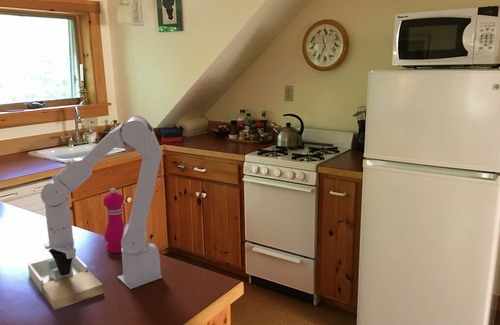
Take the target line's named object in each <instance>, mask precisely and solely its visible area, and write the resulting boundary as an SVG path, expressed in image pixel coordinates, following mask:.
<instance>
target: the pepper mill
mask: <svg viewBox="0 0 500 325" xmlns="http://www.w3.org/2000/svg"><path fill="white" fill-rule="evenodd" d="M124 202H125V198H124V196H123V195H122V194H121V193H119V192H117V188H115V187H112V188H110V189H109V192H108V193H107V194H105V196H104V198H103V205H104V207H106V208H105V214H107V224H106V226H105V227H106V228H105V230H104V240H105V242H106V243H107V244H106V250H107V251H108V252H110V253H114V254H115V253H122V250H121V248H122V247H121V240H122V237H123V233H124V226H125V225H126V224H125V223H124V221H123V216H122V215H123V212H124V209H123V208H124V207H123V205H124Z"/></svg>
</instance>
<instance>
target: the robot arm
mask: <svg viewBox="0 0 500 325" xmlns="http://www.w3.org/2000/svg"><path fill="white" fill-rule="evenodd" d="M126 145H128V146H130V147H131V148H133V149H134V150H136V151H137V153H138V155H139V156H140V157H141V158H142V160H141V165H140V170H139V175H138V179H137V184H136V188H135V193H134V197H133V203H132V207H131V211H130V216H129V220H128V221H127V222H126V223H125V224H124V225H125V226H124V233H123V237H122V240H121V247H122V248H121V250H122V252H121V260H122V261H121V262H122V274H121V275H118V276H117V278H118V279H119V281H121V282H122V283H123V284H124V285H125V286H126V287H127V288H129V289H130V290H131V289H132V290H133V289H135V288H138V287H141V286H143V285H146V284H149V283H150V282H154V281H156V280H159V279H162V278H163V276H162V274H161V273H162V272H161V258H160V257H161V255H160V251H159V248H158V247H157V245H156V244H154V243H148V241H147V234H148V227H147V224H148V219H149V214H150V209H151V204H152V200H153V195H154V191H155V188H156V187H155V186H156V183H157V182H156V181H157V177H158V173H159V169H160V164H161V160H162V154H163V153H162V148H161V146H160V143H159V141H158V138H157V136H156V134H155V131H154V128H153V126H152V125H151V124H150V123H149V122H148V120H147V119H146V118H144V117H143V116H140V115H132V116H130V117H128V118H127V119H126V121H125V122H122V123H120V124H119V125H117V126H116V127H115V128H113V129H112V130H111V131H110V132H108V133H107V134H106V135H105V136H104V137H103V138H102V139H101V140H100V141H98V143H97V144H96V145H95V146H93V148H91V150H89V152H87V154H85V156H84V157H80V158H79V157H75V158H73V159H72V160H71V159H69V160H67V161H66V162H65V165H66V166H65V167H63V168H62V169H61V170H60V171H59V172H58V173H57V174H56V173H54V174H53V175H52V176H51V179H50V180H49V181H47V183H46V184H45V185H44V186H43V187H42V188H41V189H42V190H40V199H41V200H42V202H43V203H44V207H45V211H44V212H45V218H46V225H47V226H46V227H47V236H48V243H45V244H44V248H45V249H46V250H48V252H49V254H51V256H52V257H53V258H54V260H55V262H56V265H57V268H58V271H59V273H60V275H61V276H64V275H67V274H70V269H71V263H72V259H73V257H76V256H77V255H76V252H77V249H76V248H75V239H74V234H73V225H72V224H73V223H72V217H71V216H72V215H71V207H70V202H69V195H70V193H72V192H74V191H75V190H76V189H78V188H79V187H80V186H81V185H82V184H83V183H84V182H85V181H86V180H87V179H89V178H90V177H91V176H92V174H93V170H92V169H93V167H94V166H95V165H96V164H97V163H98V162H100V161H102V159H103V158H105V156H107V155H108V154H109V153H110V152H112V151H113V150H114V149H116V148H125V147H126Z"/></svg>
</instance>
